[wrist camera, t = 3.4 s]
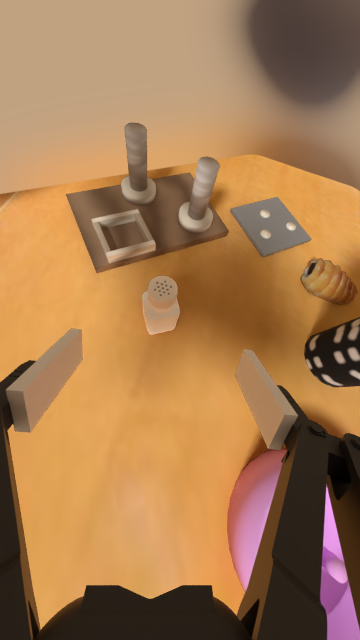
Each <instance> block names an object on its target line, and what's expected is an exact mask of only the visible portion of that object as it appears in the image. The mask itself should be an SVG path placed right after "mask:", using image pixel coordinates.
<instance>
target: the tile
mask: <svg viewBox="0 0 360 640" xmlns="http://www.w3.org/2000/svg"><path fill="white" fill-rule="evenodd" d="M230 211H231V213H232V214H233V216H234V217H235V219H236V220H237V221H238V223H239V224H240V226H241V227H242V229H243V230H244V232H245V233H246V234H247V236H248V237H249V239H250V240H251V242H252V243H253V244H254V246H255V247H256V249H257V250H258V252H259V253H260V255H261V256H262V257H266V256H268V255H271V254H274V253H277V252H280V251H283V250H286V249H289V248H292V247H294V246H297V245H300V244H303V243H306V242H309V241H310V240H311V238H310V237H309V235H308V234H307V233H306V232H305V230H304V229H303V228H302V227H301V225H300V224H299V223H298V222H297V220H296V219H295V218H294V217H293V216H292V214H291V213H290V212H289V211H288V209H287V208H286V207H285V206H284V204H283V203H282V202H281V201H280V199H279V198H278V197H275V198H271V199H267V200H263V201H259V202H255V203H251V204H247V205H243V206H239V207H235V208H231V210H230Z"/></svg>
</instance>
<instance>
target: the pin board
mask: <svg viewBox="0 0 360 640" xmlns="http://www.w3.org/2000/svg"><path fill="white" fill-rule="evenodd" d="M125 137H126V147H127V159H128V169H129V175H128V176H126V177H125V178H124V179H123V180H122V182H121V185H116V186H111V187H105V188H99V189H93V190H88V191H82V192H76V193H71V194H66V196H67V199H68V201H69V204H70V206H71V209H72V211H73V214H74V216H75V219H76V221H77V224H78V227H79V229H80V232H81V234H82V237H83V239H84V242H85V244H86V247H87V250H88V252H89V255H90V257H91V260H92V262H93V265H94V267H95V270H96V272H97V273H99V272H103V271H106V270H110V269H113V268H117V267H120V266H123V265H127V264H130V263H134V262H137V261H141V260H144V259H148V258H151V257H155V256H158V255H162V254H165V253H168V252H172V251H175V250H179V249H182V248H186V247H189V246H193V245H196V244H200V243H203V242H206V241H210V240H213V239H217V238H220V237H224V236H226V235H227V233H228V229H227V228H226V226H225V225H224V223H223V222H222V220H221V219H220V217H219V216H218V214H217V213H216V211H215V210H214V208H213V207H212V205H211V204H210V202H209V200H210V197H211V193H212V190H213V187H214V183H215V180H216V177H217V173H218V170H219V163H218V162H217V161H216V160H215V159H213V158H210V157H202V158H200V159H199V160H198V165H197V170H196V174H195V179H194V178H193V177H192V175H191V174H190V173H185V174H180V175H174V176H168V177H162V178H157V179H151V178H149V177H147V129H146V128H145V127H144V126H143V125H141V124H139V123H129V124H127V125H126V126H125Z"/></svg>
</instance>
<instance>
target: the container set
mask: <svg viewBox="0 0 360 640" xmlns="http://www.w3.org/2000/svg"><path fill="white" fill-rule="evenodd" d="M286 451H287V450H286V449H280V450H270V451H268V452H265V453H263V454H260V455H259V456H257V457H256V458H255V459H253V460H252V461H251V462H250V463H249V464H248V465H247V466H246V467H245V468H244V470H243V471H242V473H241V474H240V476H239V478H238V480H237V481H236V483H235V486H234V489H233V492H232V495H231V498H230V504H229V509H228V523H227V533H228V541H229V550H230V553H231V557H232V561H233V565H234V568H235V571H236V573H237V575H238V578H239V580H240V582H241V585H242V587H243V589H244V591H245V592H246V590H247V587H248V583H249V580H250V576H251V573H252V569H253V566H254V562H255V559H256V555H257V552H258V548H259V545H260V541H261V538H262V534H263V531H264V527H265V523H266V520H267V516H268V513H269V509H270V506H271V502H272V499H273V495H274V492H275V488H276V485H277V481H278V478H279V474H280V471H281V467H282V464H283V463H282V462H281V460H282V459H283V457H284V455H285V453H286ZM320 600H321V604H322V605H323V607H324V608H325V609H326V614H327V640H360V630H359V625H358V621H357V616H356V612H355V608H354V603H353V599H352V594H351V590H350V586H349V581H348V577H347V572H346V568H345V564H344V559H343V555H342V550H341V546H340V542H339V537H338V533H337V528H336V524H335V520H334V515H333V511H332V506H331V502H330V498H329V493H328V489H327V485H326V503H325V520H324V537H323V555H322V572H321V590H320Z"/></svg>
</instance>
